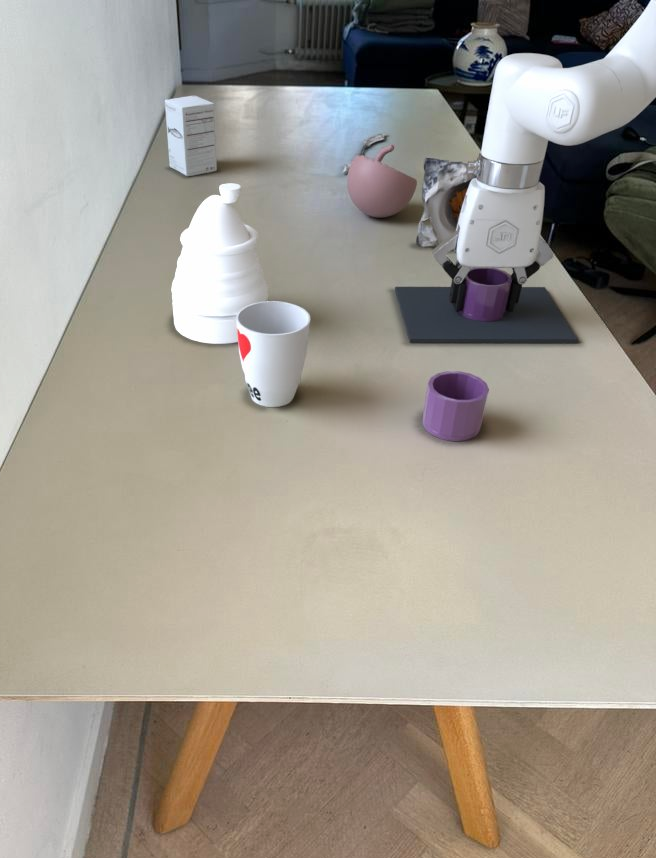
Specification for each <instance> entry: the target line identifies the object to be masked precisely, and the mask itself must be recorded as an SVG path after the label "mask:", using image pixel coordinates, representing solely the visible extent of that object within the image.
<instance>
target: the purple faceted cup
mask: <svg viewBox="0 0 656 858" xmlns="http://www.w3.org/2000/svg"><path fill="white" fill-rule="evenodd" d="M489 393H490V388H489V385H488V383H486V381H484V379H482V378H481V377H479V376H477V375H475V374H472V373H470V372H465V371H458V370H456V371H455V370H445V371H442V372H438V373H436V374H434V375H432V376H431V377H430V378H429V379H428V382H427V386H426V392H425V400H424V405H423V412H422V426H423V428H424V429H425V430H426V432H427V433H428V434H430V435H432V436H433V437H436V438H437V439H440V440H444V441H449V442H462V441H463V442H464V441H468V440H471V439H473V438H475V437H476V436H477V435H478V434H479V433H480V432H481V428H482V425H483V419H484V416H485V410H486V405H487V401H488V397H489Z"/></svg>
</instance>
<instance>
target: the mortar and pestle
mask: <svg viewBox="0 0 656 858" xmlns="http://www.w3.org/2000/svg"><path fill="white" fill-rule="evenodd" d="M394 150H395V145H394V144H389V145H387V146H385V147H382V148H380V149H379V151H378V153H377V155H376V156H375V158H374V159H373V158H371V157H367V156H365V154H364V155H363V154H362V156H359V155H358V154H355V155H354V157H353V159H352V161H351V162H352V163H351V162H350V163H351V165H350V168H349V171H348V172H347V175H346V176H347V177H346V186H347V192H348V196H349V198H350V200H351V201H352V203H353V204H354V206H355V207H356V208H357V209H358V210H359V211H360V212H361V213H363V214H365V215H366V216H369V217H372V218H388V217H391V216H394V215H396V214H397V213H399V212H401V211H402V210H403V209H405V208H406V206H408V205H409V203H410V202H411V200H412V198H413V197H414V195H415V193H416V189H417V186H418V180H417V178H414V177H412V176H410V175H408V174H406V173H404V172H401V171H400V170H397V169H396V168H394V167H392V166H389V165H388V164H385V163H382V161H383V159H384V157H385V156H386V155H387V154H389V153H392V152H393V151H394Z"/></svg>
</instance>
